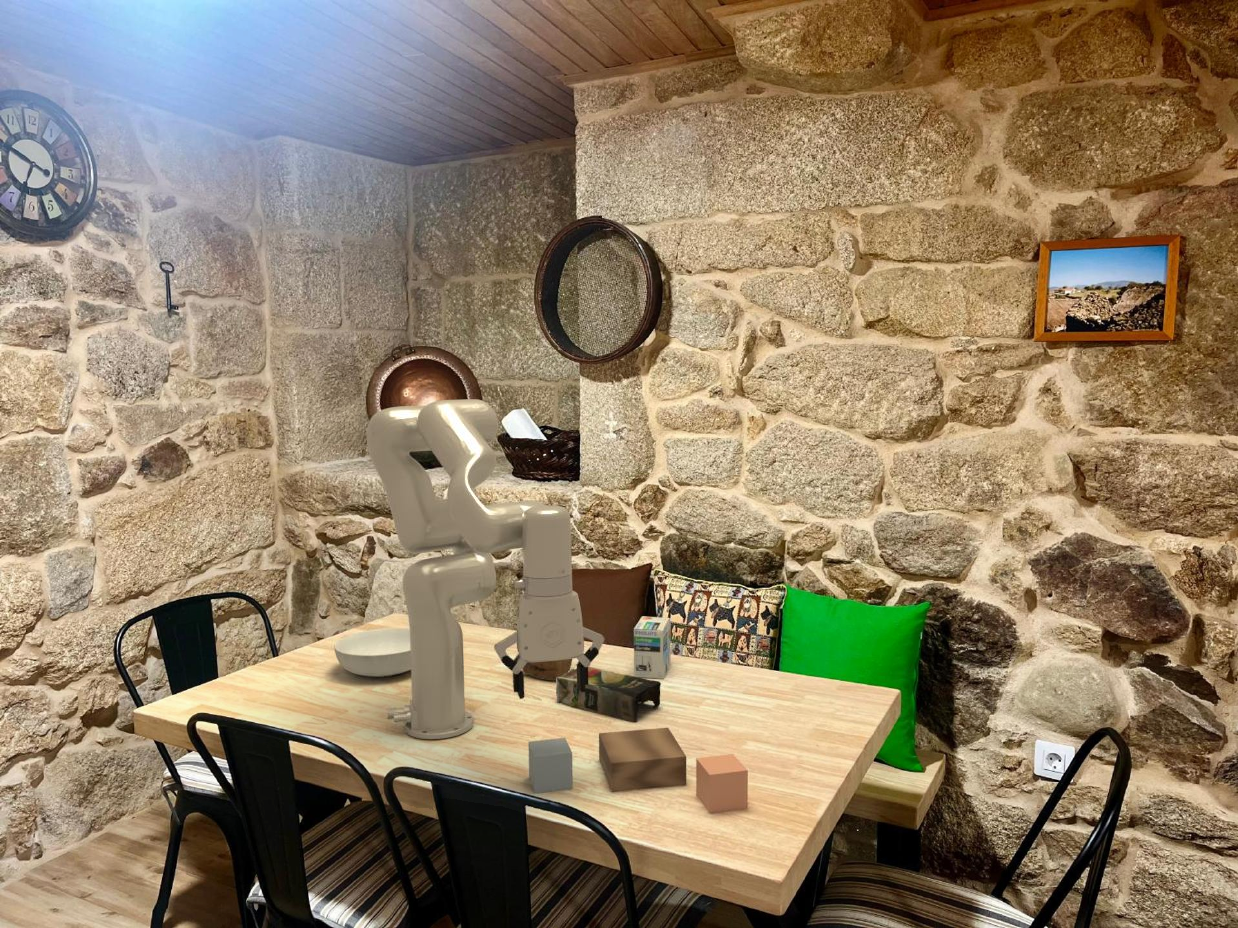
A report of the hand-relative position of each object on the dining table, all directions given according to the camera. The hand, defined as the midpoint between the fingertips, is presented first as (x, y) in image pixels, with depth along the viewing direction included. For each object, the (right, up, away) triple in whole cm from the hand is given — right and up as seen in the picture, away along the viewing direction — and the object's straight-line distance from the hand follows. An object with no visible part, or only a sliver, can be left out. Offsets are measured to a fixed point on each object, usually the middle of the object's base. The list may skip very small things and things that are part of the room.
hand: (551, 692), depth 141 cm
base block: (+14, -15, +6) cm, 21 cm away
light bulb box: (+18, -10, +56) cm, 59 cm away
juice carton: (+8, -12, +36) cm, 38 cm away
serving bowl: (-41, -10, +57) cm, 71 cm away
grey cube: (0, -15, +2) cm, 15 cm away
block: (-5, -10, +53) cm, 54 cm away
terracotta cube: (+26, -15, -5) cm, 31 cm away
